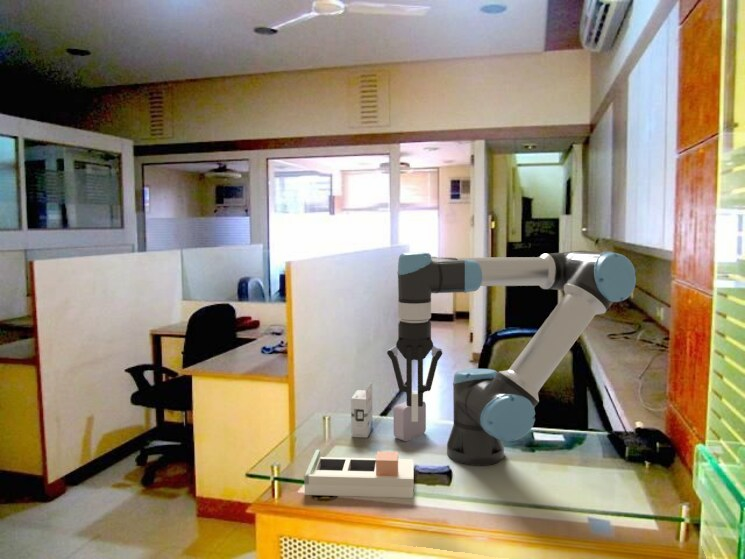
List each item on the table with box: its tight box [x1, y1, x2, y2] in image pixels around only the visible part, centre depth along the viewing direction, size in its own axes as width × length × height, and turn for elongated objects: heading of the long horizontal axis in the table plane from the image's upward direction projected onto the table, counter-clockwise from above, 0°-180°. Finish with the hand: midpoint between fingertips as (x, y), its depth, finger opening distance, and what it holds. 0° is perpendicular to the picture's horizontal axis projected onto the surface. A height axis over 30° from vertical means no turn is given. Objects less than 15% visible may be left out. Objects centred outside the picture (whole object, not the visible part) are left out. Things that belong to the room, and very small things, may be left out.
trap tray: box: [303, 449, 415, 499], centre depth 131 cm, size 25×15×4 cm, turn 85°
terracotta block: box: [376, 450, 399, 477], centre depth 128 cm, size 5×5×5 cm
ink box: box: [350, 381, 373, 438], centre depth 162 cm, size 9×5×15 cm, turn 168°
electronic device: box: [393, 401, 427, 442], centre depth 160 cm, size 10×5×10 cm, turn 135°
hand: (414, 419), depth 127 cm, fingers closed
